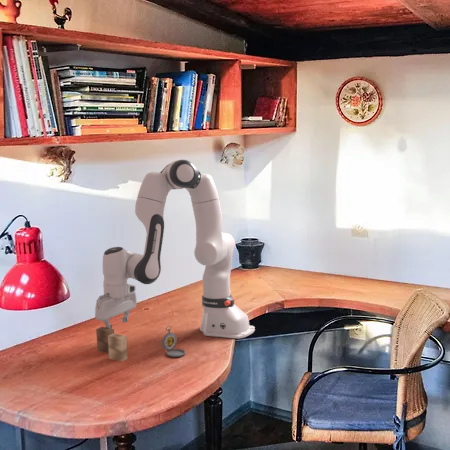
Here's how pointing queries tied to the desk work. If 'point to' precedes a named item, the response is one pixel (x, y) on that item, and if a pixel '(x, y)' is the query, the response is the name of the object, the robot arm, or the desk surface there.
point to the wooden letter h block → (103, 338)
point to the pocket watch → (171, 345)
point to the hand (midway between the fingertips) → (117, 325)
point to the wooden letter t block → (117, 347)
